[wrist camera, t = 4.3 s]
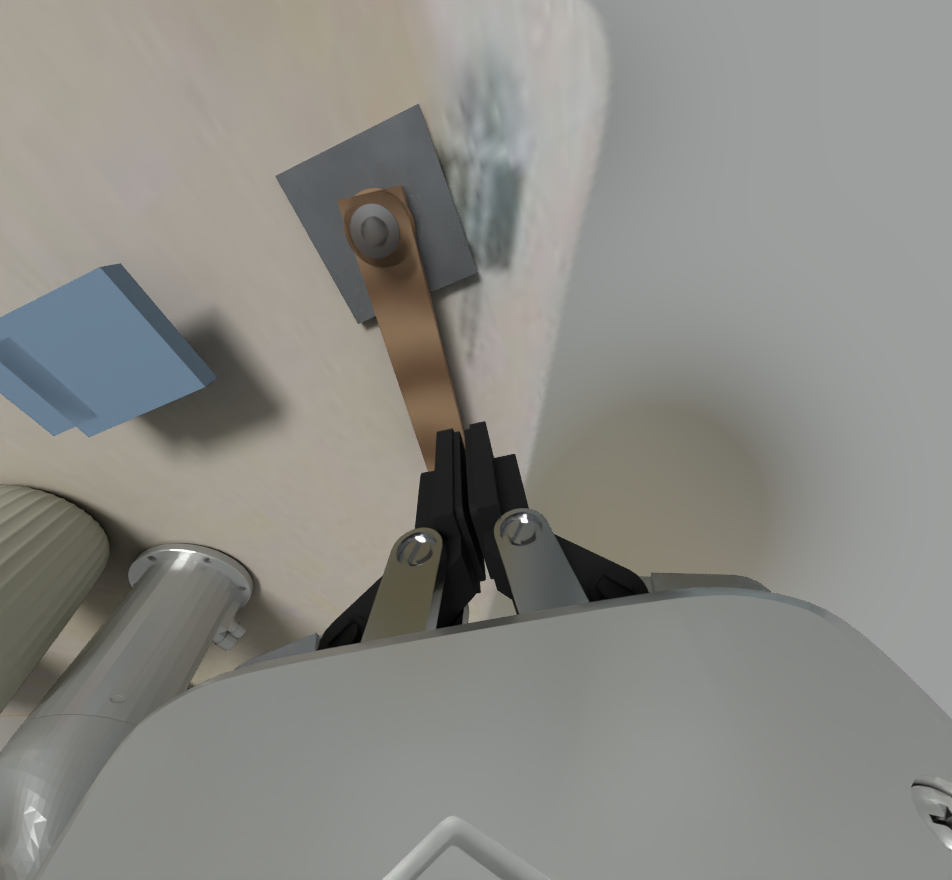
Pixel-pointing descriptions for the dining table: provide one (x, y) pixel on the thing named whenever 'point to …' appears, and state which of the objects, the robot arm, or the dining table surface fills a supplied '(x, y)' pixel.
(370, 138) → the pintle base
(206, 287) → the dining table surface
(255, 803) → the robot arm
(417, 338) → the latch bar
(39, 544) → the canister
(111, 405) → the block
